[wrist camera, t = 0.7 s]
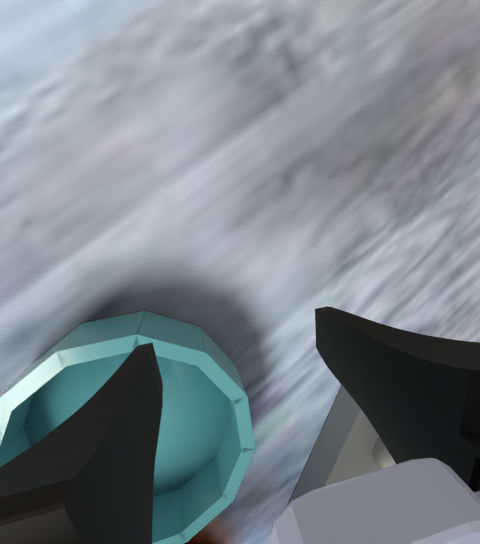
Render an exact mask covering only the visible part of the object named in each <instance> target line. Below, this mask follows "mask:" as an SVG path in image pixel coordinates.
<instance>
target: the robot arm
mask: <svg viewBox="0 0 480 544" xmlns="http://www.w3.org/2000/svg"><path fill="white" fill-rule="evenodd" d="M315 320H316V348H317V350H318V352H319V353H320V355H321V357H322V359H323V360H324V362H325V363H326V365H327V367H328V368H329V369H330V370H331V372H332V373H333V374H334V376H335V377H336V378H337V379H338V381H339V382H340V383H341V384H342V386H343V387H344V388H345V389H346V391H347V392H348V393H349V394H350V396H351V397H352V398H353V399H354V401H355V402H356V403H357V404H358V406H359V407H360V408H361V410H362V411H363V412H364V414H365V415H366V417H367V418H368V420H369V421H370V423H371V424H372V426H373V428H374V429H375V431H376V432H377V434H378V435H379V437H380V438H381V440H382V442H383V443H384V445H385V447H386V448H387V450H388V452H389V453H390V455H391V456H392V458H393V460H394V461H395V463H396V465H393V466H389V467H386V468H383V469H380V470H377V471H373V472H370V473H367V474H364V475H360V476H357V477H354V478H351V479H348V480H344V481H341V482H338V483H335V484H331V485H328V486H325V487H322V488H319V489H315V490H312V491H311V492H309V493H307V494H305V495H303V496H301V497H299V498H297V499H295V500H293V501H291V502H290V503H289V505H288V506H287V507H286V508H285V509H284V510H283V511H282V512H281V513H280V514H279V515H278V516H277V518H276V520H275V522H274V525H273V529H272V533H271V537H270V541H269V542H270V544H480V343H478V342H467V341H459V340H451V339H445V338H439V337H432V336H427V335H422V334H417V333H413V332H409V331H404V330H400V329H397V328H393V327H390V326H386V325H383V324H380V323H377V322H373V321H370V320H367V319H365V318H362V317H359V316H356V315H353V314H350V313H348V312H345V311H342V310H339V309H336V308H332V307H328V306H327V307H323V308H318V309H315ZM162 406H163V382H162V378H161V374H160V370H159V366H158V362H157V358H156V354H155V350H154V346H153V342H152V343H147V344H142V345H138V346H137V347H136V348H135V349H134V350H133V351H132V352H131V354H130V355H129V356H128V357H127V358H126V360H125V361H124V362H123V363H122V364H121V366H120V367H119V368H118V369H117V370H116V371H115V373H114V374H113V375H112V376H111V377H110V378H109V379H108V380H107V381H106V382H105V384H104V385H103V386H102V387H101V388H100V389H99V390H98V391H97V392H96V393H95V394H94V395H93V396H92V397H91V398H90V399H89V400H88V401H87V402H86V403H85V404H84V405H83V406H81V407H80V408H79V409H78V410H77V411H76V412H75V413H74V414H72V415H71V416H70V417H69V418H68V419H66V420H65V421H64V422H63V423H61V424H60V425H59V426H58V427H56V428H55V429H54V430H52V431H51V432H50V433H49V434H47V435H46V436H45V437H44V438H42V439H41V440H39V441H38V442H37V443H35V444H34V445H32V446H31V447H30V448H28V449H27V450H25V451H24V452H22V453H21V454H19V455H18V456H16V457H15V458H13V459H12V460H10V461H9V462H7V463H6V464H4V465H3V466H1V467H0V544H152V519H153V487H154V469H155V459H156V451H157V444H158V437H159V429H160V422H161V414H162Z"/></svg>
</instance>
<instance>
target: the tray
mask: <svg viewBox="0 0 480 544" xmlns="http://www.w3.org/2000/svg"><path fill="white" fill-rule="evenodd" d="M378 438H379V435H378V434H377V432H376V431H375V429H374V428H373V426H372V424H371V423H370V421H369V420H368V418H367V417H366V415H365V414H364V412H363V411H362V410H361V408H360V407H359V406H358V404H357V403H356V402H355V401H354V399H353V398H352V397H351V396H350V394H349V393H348V392H347V391H346V389H345V388H344V387H343V386H341V388H340V390H339V392H338V395H337V397H336V399H335V401H334V403H333V406H332V408H331V410H330V412H329V415H328V417H327V419H326V421H325V423H324V426H323V428H322V430H321V432H320V434H319V437H318V439H317V441H316V443H315V446H314V448H313V450H312V452H311V454H310V457H309V459H308V461H307V463H306V466H305V468H304V470H303V472H302V474H301V477H300V479H299V481H298V483H297V486H296V488H295V490H294V492H293V494H292V497H291V499H290V501H289V503H290V502H291V501H293V500H295V499H297V498H299V497H301V496H303V495H305V494H307V493H309V492H311V491H312V490H315V489H319V488H322V487H325V486H328V485H331V484H335V483H338V482H341V481H344V480H348V479H351V478H354V477H357V476H360V475H364V474H367V473H370V472H373V471H377V470H380V468H379V466H378V465H377V464H376V463H375V461H374V459H373V455H372V452H373V447H374V445H375V443H376V441H377V440H378ZM289 503H288V505H289ZM288 505H287V506H288Z"/></svg>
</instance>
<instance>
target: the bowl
mask: <svg viewBox="0 0 480 544" xmlns="http://www.w3.org/2000/svg"><path fill="white" fill-rule="evenodd" d="M152 342H153V346H154V350H155V354H156V358H157V362H158V366H159V370H160V374H161V378H162V382H163V406H162V414H161V422H160V429H159V437H158V444H157V451H156V459H155V469H154V487H153V519H152V544H184V543H186V542H188V541H189V540H190V539H191V538H192V537H193V536H195V535H196V534H197V533H198V532H199V531H200V530H201V529H202V528H204V527H205V526H206V525H207V524H208V523H209V522H210V521H212V520H213V519H214V518H215V517H216V516H217V515H218V514H219V513H221V512H222V511H223V510H224V509H225V508H226V507H227V506H228V505H230V504H231V503H232V502H233V501H234V498H235V496H236V494H237V491H238V489H239V487H240V484H241V482H242V480H243V477H244V475H245V473H246V470H247V468H248V466H249V463H250V461H251V459H252V456H253V454H254V452H255V443H254V436H253V429H252V423H251V416H250V409H249V403H248V396H247V394H246V391H245V389H244V386H243V384H242V381H241V379H240V376H239V374H238V371H237V369H236V366H235V364H234V362H233V361H232V360H231V359H230V358H229V357H228V356H227V355H226V354H225V353H224V351H223V350H222V349H221V348H220V347H219V346H218V345H217V344H216V343H215V342H214V341H213V340H212V339H211V337H210V336H209V335H208V334H207V333H206V332H205V331H204V330H203V329H202V328H201V327H200V326H196V325H193V324H189V323H186V322H182V321H179V320H176V319H172V318H169V317H165V316H162V315H158V314H155V313H152V312H148V311H140V312H135V313H130V314H125V315H120V316H115V317H110V318H105V319H100V320H95V321H90V322H85V323H81V324H80V325H79V326H78V327H76V328H75V329H74V330H73V331H72V332H70V333H69V334H68V335H67V336H65V337H64V338H63V339H62V340H60V341H59V342H58V343H57V344H56V345H54V346H53V347H52V348H51V349H49V350H48V351H47V352H46V353H44V354H43V355H42V356H41V357H40V358H38V359H37V360H36V361H35V362H33V363H32V364H31V365H30V366H29V367H28V368H27V369H26V370H25V371H24V372H23V373H22V374H21V375H20V376H19V377H18V378H17V379H16V380H15V381H14V382H13V384H12V385H11V386H10V387H9V388H8V389H7V390H6V391H5V392H4V393H3V394H2V395H1V396H0V467H1V466H3V465H4V464H6V463H7V462H9V461H10V460H12V459H13V458H15V457H16V456H18V455H19V454H21V453H22V452H24V451H25V450H27V449H28V448H30V447H31V446H32V445H34V444H35V443H37V442H38V441H39V440H41V439H42V438H44V437H45V436H46V435H47V434H49V433H50V432H51V431H52V430H54V429H55V428H56V427H58V426H59V425H60V424H61V423H63V422H64V421H65V420H66V419H68V418H69V417H70V416H71V415H72V414H74V413H75V412H76V411H77V410H78V409H79V408H80V407H81V406H83V405H84V404H85V403H86V402H87V401H88V400H89V399H90V398H91V397H92V396H93V395H94V394H95V393H96V392H97V391H98V390H99V389H100V388H101V387H102V386H103V385H104V384H105V382H106V381H107V380H108V379H109V378H110V377H111V376H112V375H113V374H114V373H115V371H116V370H117V369H118V368H119V367H120V366H121V364H122V363H123V362H124V361H125V360H126V358H127V357H128V356H129V355H130V354H131V352H132V351H133V350H134V349H135V348H136V347H137V346H138V345H142V344H147V343H152Z"/></svg>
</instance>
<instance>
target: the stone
mask: <svg viewBox="0 0 480 544" xmlns="http://www.w3.org/2000/svg"><path fill="white" fill-rule="evenodd" d="M372 455H373V459H374V461H375V463H376V464H377V465H378V466H379V468H380V469H383V468H386V467H389V466H393V465H396V463H395V461H394V460H393V458H392V456H391V455H390V453H389V452H388V450H387V448H386V447H385V445H384V443H383V442H382V440H381V438H380V437H379V438H378V440H377V441H376V443H375V445H374V447H373V452H372Z"/></svg>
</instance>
